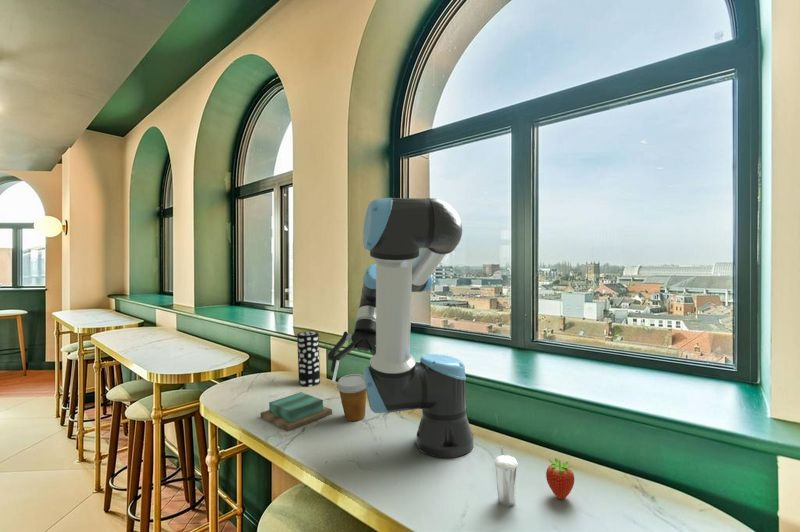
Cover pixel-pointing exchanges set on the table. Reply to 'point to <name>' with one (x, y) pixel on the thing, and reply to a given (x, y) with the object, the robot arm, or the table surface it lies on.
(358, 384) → the disposable coffee cup
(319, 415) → the display stand
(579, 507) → the table surface
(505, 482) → the milkshake
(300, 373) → the white-spotted black cylinder
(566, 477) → the fruit
